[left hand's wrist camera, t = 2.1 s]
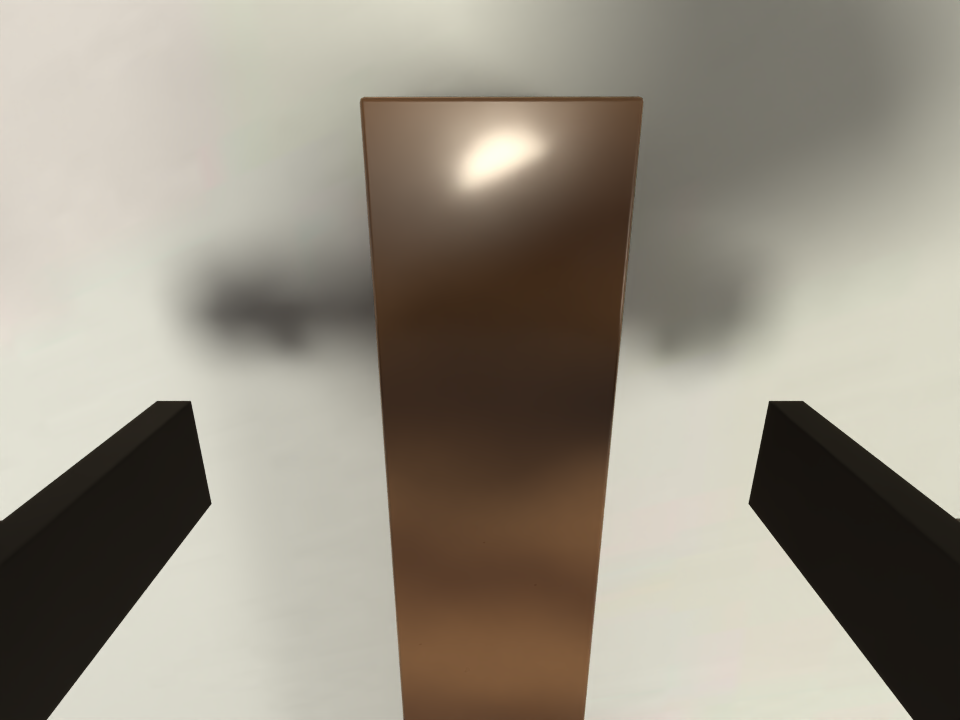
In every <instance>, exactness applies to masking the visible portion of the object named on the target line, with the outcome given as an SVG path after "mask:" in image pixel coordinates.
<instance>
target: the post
mask: <svg viewBox="0 0 960 720" xmlns="http://www.w3.org/2000/svg"><path fill="white" fill-rule="evenodd" d="M360 112H361V126H362V140H363V154H364V168H365V182H366V196H367V211H368V225H369V239H370V253H371V267H372V281H373V295H374V310H375V324H376V338H377V352H378V366H379V380H380V394H381V409H382V423H383V437H384V451H385V465H386V479H387V493H388V508H389V522H390V536H391V550H392V564H393V578H394V593H395V607H396V621H397V635H398V649H399V663H400V677H401V692H402V706H403V720H584V715H585V705H586V694H587V684H588V674H589V663H590V653H591V642H592V632H593V622H594V611H595V601H596V591H597V580H598V570H599V559H600V549H601V539H602V528H603V518H604V507H605V497H606V487H607V476H608V466H609V455H610V445H611V435H612V424H613V414H614V403H615V393H616V383H617V372H618V362H619V351H620V341H621V331H622V320H623V310H624V300H625V289H626V279H627V268H628V258H629V248H630V237H631V227H632V216H633V206H634V196H635V185H636V175H637V164H638V154H639V144H640V133H641V123H642V112H643V98H641V97H639V96H632V97H363V98H361V100H360Z"/></svg>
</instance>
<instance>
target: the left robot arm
mask: <svg viewBox="0 0 960 720" xmlns="http://www.w3.org/2000/svg"><path fill="white" fill-rule="evenodd" d="M210 505H211V499H210V494H209V489H208V484H207V479H206V474H205V469H204V464H203V459H202V454H201V449H200V444H199V439H198V434H197V429H196V424H195V419H194V414H193V409H192V404H191V401H157V402H155V403H154V404H153V405H151V406H150V407H149V408H147V409H146V410H145V411H144V412H142V413H141V414H140V415H138V416H137V417H136V418H135V419H133V420H132V421H131V422H129V423H128V424H127V425H125V426H124V427H123V428H122V429H120V430H119V431H118V432H116V433H115V434H114V435H113V436H111V437H110V438H109V439H107V440H106V441H105V442H103V443H102V444H101V445H100V446H98V447H97V448H96V449H94V450H93V451H92V452H91V453H89V454H88V455H87V456H85V457H84V458H83V459H81V460H80V461H79V462H78V463H76V464H75V465H74V466H72V467H71V468H70V469H68V470H67V471H66V472H65V473H63V474H62V475H61V476H59V477H58V478H57V479H56V480H54V481H53V482H52V483H50V484H49V485H48V486H46V487H45V488H44V489H43V490H41V491H40V492H39V493H37V494H36V495H35V496H34V497H32V498H31V499H30V500H28V501H27V502H26V503H24V504H23V505H22V506H21V507H19V508H18V509H17V510H15V511H14V512H13V513H12V514H10V515H9V516H8V517H6V518H5V519H4V520H2V521H0V720H47V719H48V717H49V716H50V715H51V713H52V712H53V711H54V710H55V708H56V707H57V706H58V704H59V703H60V702H61V700H62V699H63V698H64V696H65V695H66V694H67V693H68V691H69V690H70V689H71V687H72V686H73V685H74V683H75V682H76V681H77V679H78V678H79V677H80V675H81V674H82V673H83V672H84V670H85V669H86V668H87V666H88V665H89V664H90V662H91V661H92V660H93V658H94V657H95V656H96V654H97V653H98V652H99V651H100V649H101V648H102V647H103V645H104V644H105V643H106V641H107V640H108V639H109V637H110V636H111V635H112V634H113V632H114V631H115V630H116V628H117V627H118V626H119V624H120V623H121V622H122V620H123V619H124V618H125V616H126V615H127V614H128V613H129V611H130V610H131V609H132V607H133V606H134V605H135V603H136V602H137V601H138V599H139V598H140V597H141V595H142V594H143V593H144V592H145V590H146V589H147V588H148V586H149V585H150V584H151V582H152V581H153V580H154V578H155V577H156V576H157V575H158V573H159V572H160V571H161V569H162V568H163V567H164V565H165V564H166V563H167V561H168V560H169V559H170V557H171V556H172V555H173V554H174V552H175V551H176V550H177V548H178V547H179V546H180V544H181V543H182V542H183V540H184V539H185V538H186V536H187V535H188V534H189V533H190V531H191V530H192V529H193V527H194V526H195V525H196V523H197V522H198V521H199V519H200V518H201V517H202V516H203V514H204V513H205V512H206V510H207V509H208V508H209V506H210ZM749 505H750V506H751V508H752V509H753V510H754V512H755V513H756V514H757V516H758V517H759V518H760V519H761V521H762V522H763V523H764V525H765V526H766V527H767V529H768V530H769V531H770V533H771V534H772V535H773V537H774V538H775V539H776V540H777V542H778V543H779V544H780V546H781V547H782V548H783V550H784V551H785V552H786V554H787V555H788V556H789V557H790V559H791V560H792V561H793V563H794V564H795V565H796V567H797V568H798V569H799V571H800V572H801V573H802V575H803V576H804V577H805V578H806V580H807V581H808V582H809V584H810V585H811V586H812V588H813V589H814V590H815V592H816V593H817V594H818V595H819V597H820V598H821V599H822V601H823V602H824V603H825V605H826V606H827V607H828V609H829V610H830V611H831V613H832V614H833V615H834V616H835V618H836V619H837V620H838V622H839V623H840V624H841V626H842V627H843V628H844V630H845V631H846V632H847V634H848V635H849V636H850V637H851V639H852V640H853V641H854V643H855V644H856V645H857V647H858V648H859V649H860V651H861V652H862V653H863V654H864V656H865V657H866V658H867V660H868V661H869V662H870V664H871V665H872V666H873V668H874V669H875V670H876V672H877V673H878V674H879V675H880V677H881V678H882V679H883V681H884V682H885V683H886V685H887V686H888V687H889V689H890V690H891V691H892V693H893V694H894V695H895V696H896V698H897V699H898V700H899V702H900V703H901V704H902V706H903V707H904V708H905V710H906V711H907V712H908V713H909V715H910V716H911V717H912V719H913V720H960V519H955V518H954V517H952V516H951V515H950V514H948V513H947V512H946V511H945V510H943V509H942V508H941V507H939V506H938V505H937V504H936V503H934V502H933V501H932V500H930V499H929V498H928V497H926V496H925V495H924V494H923V493H921V492H920V491H919V490H917V489H916V488H915V487H914V486H912V485H911V484H910V483H908V482H907V481H906V480H904V479H903V478H902V477H901V476H899V475H898V474H897V473H895V472H894V471H893V470H892V469H890V468H889V467H888V466H886V465H885V464H884V463H882V462H881V461H880V460H879V459H877V458H876V457H875V456H873V455H872V454H871V453H869V452H868V451H867V450H866V449H864V448H863V447H862V446H860V445H859V444H858V443H857V442H855V441H854V440H853V439H851V438H850V437H849V436H847V435H846V434H845V433H844V432H842V431H841V430H840V429H838V428H837V427H836V426H835V425H833V424H832V423H831V422H829V421H828V420H827V419H825V418H824V417H823V416H822V415H820V414H819V413H818V412H816V411H815V410H814V409H813V408H811V407H810V406H809V405H807V404H806V403H805V402H803V401H769V404H768V409H767V414H766V419H765V424H764V429H763V434H762V439H761V444H760V449H759V454H758V459H757V464H756V469H755V474H754V479H753V484H752V489H751V494H750V499H749Z"/></svg>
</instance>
